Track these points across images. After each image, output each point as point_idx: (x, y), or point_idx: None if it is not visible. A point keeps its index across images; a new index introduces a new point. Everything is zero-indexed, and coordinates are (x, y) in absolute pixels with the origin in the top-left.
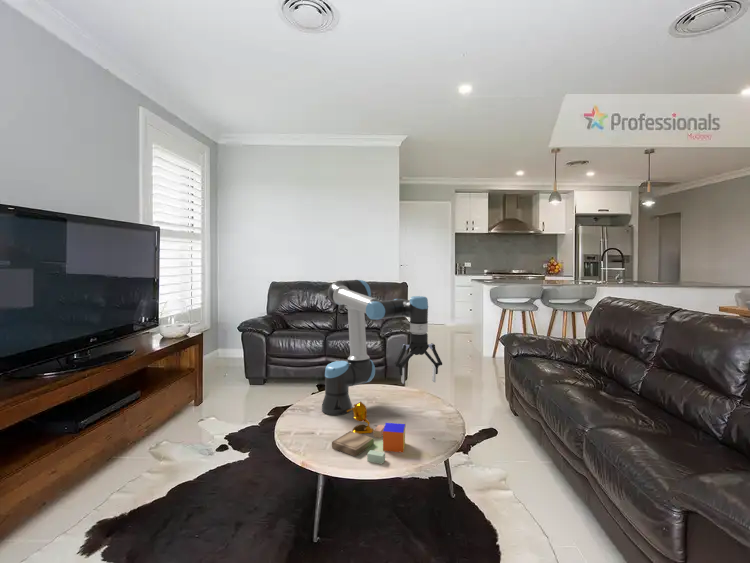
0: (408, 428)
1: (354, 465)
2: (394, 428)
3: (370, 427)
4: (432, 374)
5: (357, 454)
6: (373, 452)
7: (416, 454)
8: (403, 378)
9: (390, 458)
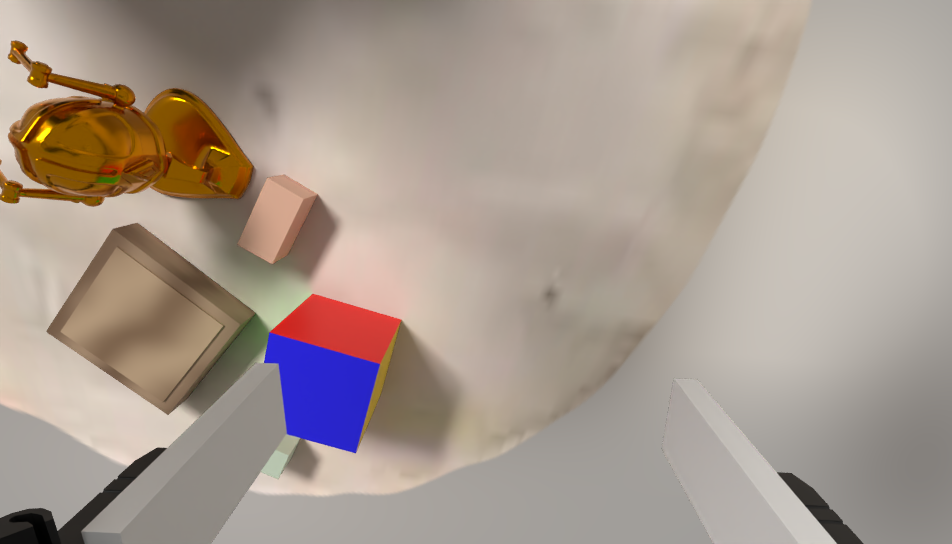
0: (449, 166)
1: None
2: (314, 405)
3: (226, 167)
4: (712, 441)
5: (188, 395)
6: None
7: (431, 416)
8: (244, 479)
9: None
